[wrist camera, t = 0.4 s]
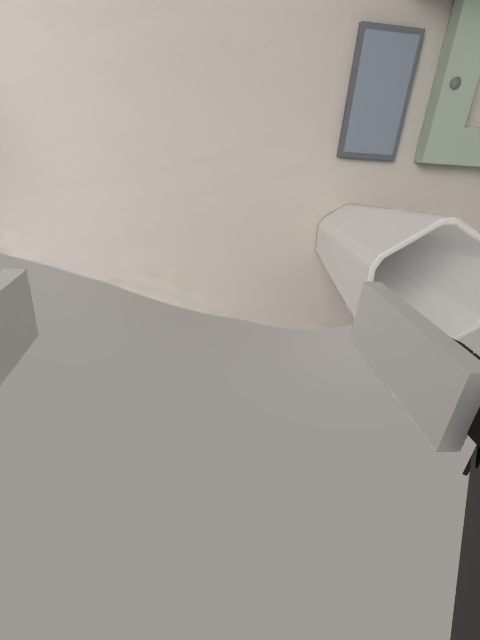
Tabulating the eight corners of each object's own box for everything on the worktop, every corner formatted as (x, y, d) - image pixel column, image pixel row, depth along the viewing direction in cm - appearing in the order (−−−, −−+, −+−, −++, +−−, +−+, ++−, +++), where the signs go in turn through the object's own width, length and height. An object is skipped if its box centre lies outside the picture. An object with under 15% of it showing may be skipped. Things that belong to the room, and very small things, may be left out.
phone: (356, 24, 34) (362, 20, 33) (418, 32, 34) (425, 28, 33) (334, 156, 39) (339, 156, 37) (388, 160, 39) (394, 161, 38)
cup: (380, 281, 45) (475, 355, 30) (298, 285, 44) (354, 364, 29) (397, 184, 40) (521, 215, 25) (305, 186, 39) (378, 220, 24)
